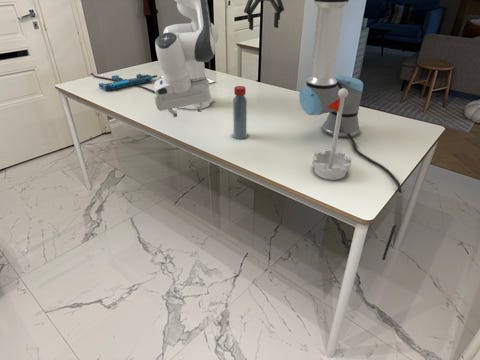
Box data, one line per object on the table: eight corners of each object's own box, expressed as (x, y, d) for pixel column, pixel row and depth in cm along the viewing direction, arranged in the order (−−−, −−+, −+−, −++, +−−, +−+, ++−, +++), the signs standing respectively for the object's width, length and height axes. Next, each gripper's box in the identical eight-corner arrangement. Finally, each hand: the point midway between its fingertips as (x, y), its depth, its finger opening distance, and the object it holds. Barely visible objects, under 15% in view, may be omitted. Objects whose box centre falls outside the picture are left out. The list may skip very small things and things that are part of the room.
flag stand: (334, 159, 128) (348, 80, 112) (356, 176, 118) (375, 92, 101) (304, 166, 124) (314, 84, 108) (324, 184, 114) (338, 97, 97)
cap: (238, 96, 133) (238, 90, 131) (232, 93, 136) (232, 87, 135) (247, 94, 135) (247, 88, 133) (241, 91, 138) (241, 85, 137)
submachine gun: (143, 68, 224) (161, 74, 208) (144, 74, 226) (162, 80, 210) (91, 78, 206) (107, 86, 189) (92, 84, 208) (108, 92, 191)
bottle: (237, 140, 142) (237, 91, 131) (231, 135, 146) (230, 87, 135) (249, 137, 145) (249, 89, 133) (242, 132, 149) (242, 85, 137)
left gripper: (206, 71, 121) (213, 103, 132) (150, 82, 121) (161, 113, 131) (208, 81, 117) (215, 113, 127) (150, 92, 117) (161, 123, 127)
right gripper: (284, -24, 159) (281, 25, 170) (236, -23, 150) (236, 29, 161) (293, -24, 153) (290, 27, 165) (244, -22, 144) (243, 31, 156)
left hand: (187, 113), depth 129 cm, fingers open, 8 cm apart
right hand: (263, 28), depth 163 cm, fingers open, 13 cm apart
